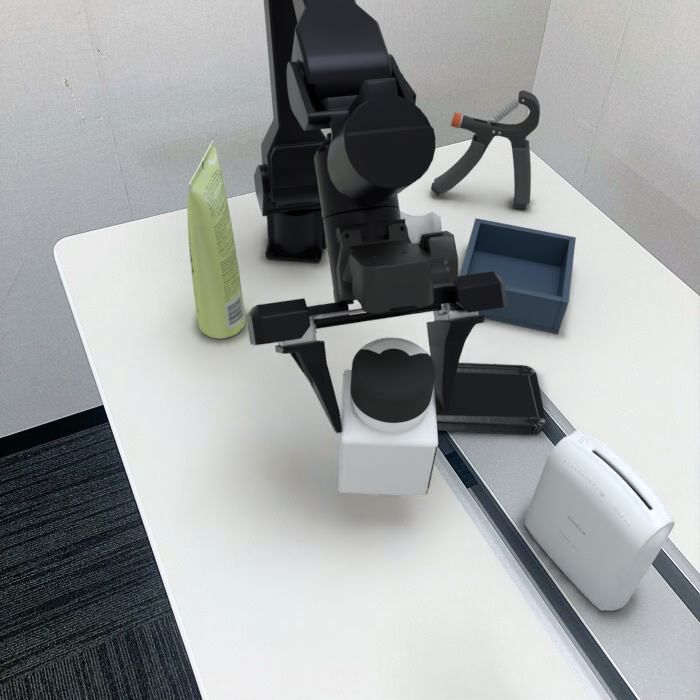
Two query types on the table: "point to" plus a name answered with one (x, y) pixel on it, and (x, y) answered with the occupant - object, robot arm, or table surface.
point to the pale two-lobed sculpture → (421, 225)
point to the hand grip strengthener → (482, 140)
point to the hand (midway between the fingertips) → (391, 422)
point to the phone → (494, 400)
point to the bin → (524, 272)
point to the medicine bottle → (388, 420)
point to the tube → (213, 252)
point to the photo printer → (597, 520)
